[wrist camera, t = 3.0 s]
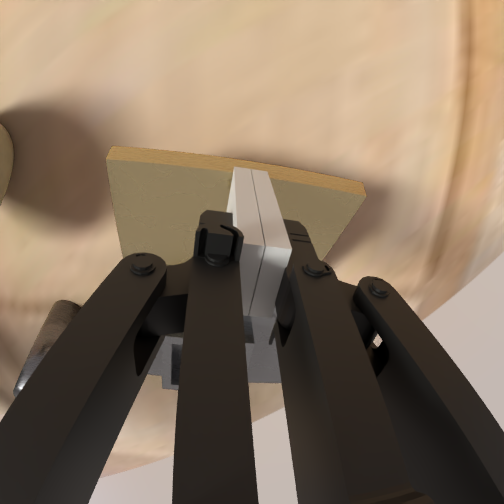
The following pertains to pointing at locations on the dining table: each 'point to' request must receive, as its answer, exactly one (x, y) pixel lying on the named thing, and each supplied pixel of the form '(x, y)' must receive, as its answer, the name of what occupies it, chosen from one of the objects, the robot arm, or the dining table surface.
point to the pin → (47, 338)
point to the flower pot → (5, 160)
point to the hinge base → (257, 354)
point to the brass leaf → (213, 199)
